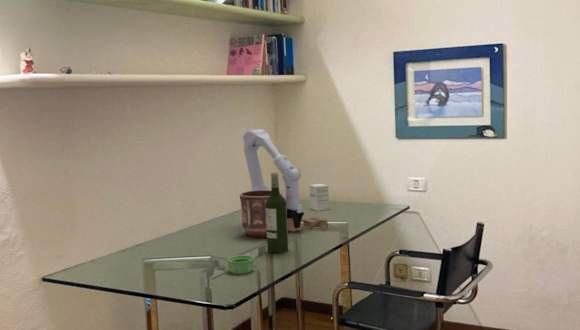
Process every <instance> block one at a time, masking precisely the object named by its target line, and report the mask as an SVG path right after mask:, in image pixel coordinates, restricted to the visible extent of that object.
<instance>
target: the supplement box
mask: <svg viewBox="0 0 580 330" xmlns="http://www.w3.org/2000/svg"><path fill="white" fill-rule="evenodd" d="M329 202H330V201H329V185H328V184H324V183H316V184H315V183H314V184H309V204H310V207H309V208H310V209H311V210H314V211H318V212H319V211H326V210H330V204H329Z"/></svg>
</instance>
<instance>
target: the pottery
mask: <svg viewBox="0 0 580 330" xmlns="http://www.w3.org/2000/svg"><path fill="white" fill-rule="evenodd" d="M279 193H280V195H281V196H282V197H283V193H282V192H281V191H279ZM270 195H271V190H270V189H269V190H259V191H251V190H248V191H245V192H241V193H240V194H239V199H240V205H241V222H242V228H243V230H244V232H245V233H246V234H247V236H249V237H251V238H257V239H258V238H264V239H265V238H267V227H266V205H265V203H266V200H267V199H268V197H269V196H270Z"/></svg>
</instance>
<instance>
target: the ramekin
mask: <svg viewBox="0 0 580 330" xmlns="http://www.w3.org/2000/svg"><path fill="white" fill-rule="evenodd" d="M254 259H255V258H254V256H252V255H247V254H246V255H245V254H244V255H243V254H241V255H233V256H229V258H227V263H228V270H229V272H230V274H234V275H244V274H248V273H251V272H253V270H254Z"/></svg>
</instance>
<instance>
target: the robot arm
mask: <svg viewBox="0 0 580 330" xmlns="http://www.w3.org/2000/svg"><path fill="white" fill-rule="evenodd" d="M242 138H243V139H242V140H243V143H244V144H243V153H244V155H245V156H244V157H245V160H246V165H247V169H248V173H249V177H250V183H251V187H252V188H251V190H250V191H259V190H270V189H269V187H268V186H267V185H266V184H265V182H264V177H263V172H262V168H261V164H260V160H259V156H258V149H259V148H260V147H262V148H264V149H265V151H266V152H267V153H268V154H269V155H270V156H271V158H272V159H273V164H274V165H275V167H276V168H277V169H278V171H280V173H281V175H282V176H281V177H282V180H283V182H284V185H285V200H286V210H287V219H288V218H293V221H294V227H295V229H296V228H300V227H301V223H302V221H303V216H304V215H305V212H304V211H303V208H302V207H303V205H302V204H300V185H299V183H300V182H299V180H300V178H301V177H302V174H301V171H300V169H299V168H298V167H295V166H294V165H293V164H292V163H291V162H290V161H289V159H288V157H287V156H286V155H285V154H281V153H280V151H278V149H277V148H276V146H275V145H274V143H273V142H272V140H271V138H270V134H269V133H267V131H266V129H264V128H258V129H248V130H246V132H245V133H244V134H243V135H242ZM301 220H302V221H301Z"/></svg>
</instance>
